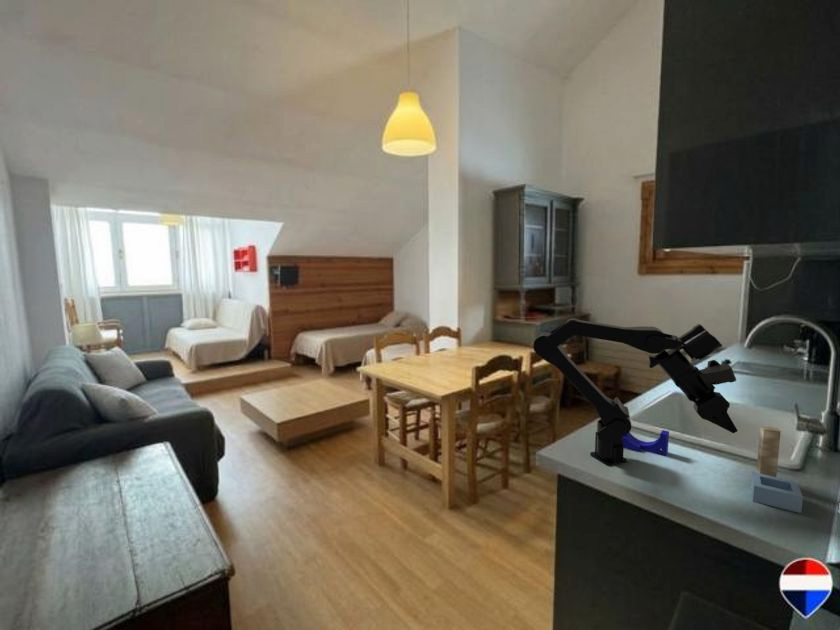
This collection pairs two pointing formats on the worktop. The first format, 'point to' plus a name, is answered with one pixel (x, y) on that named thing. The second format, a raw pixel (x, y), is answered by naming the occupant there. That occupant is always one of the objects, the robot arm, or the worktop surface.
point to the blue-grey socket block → (776, 492)
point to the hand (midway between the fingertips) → (729, 424)
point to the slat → (768, 451)
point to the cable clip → (648, 443)
